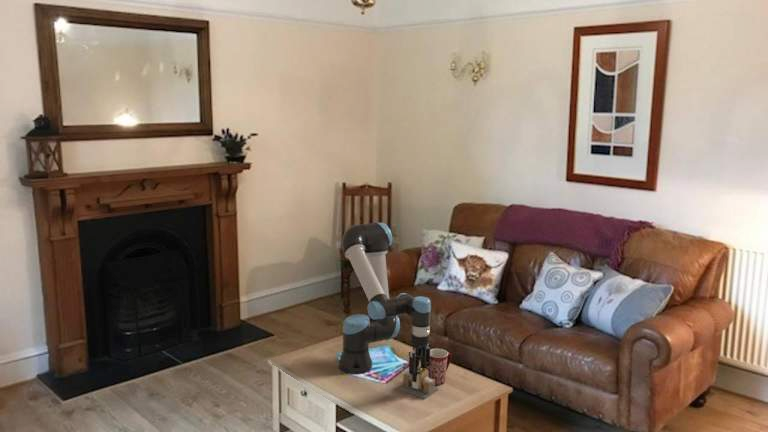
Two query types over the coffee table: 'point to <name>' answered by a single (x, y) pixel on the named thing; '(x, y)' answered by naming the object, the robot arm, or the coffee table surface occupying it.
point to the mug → (438, 365)
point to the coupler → (421, 376)
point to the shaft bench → (424, 393)
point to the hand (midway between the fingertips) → (418, 385)
